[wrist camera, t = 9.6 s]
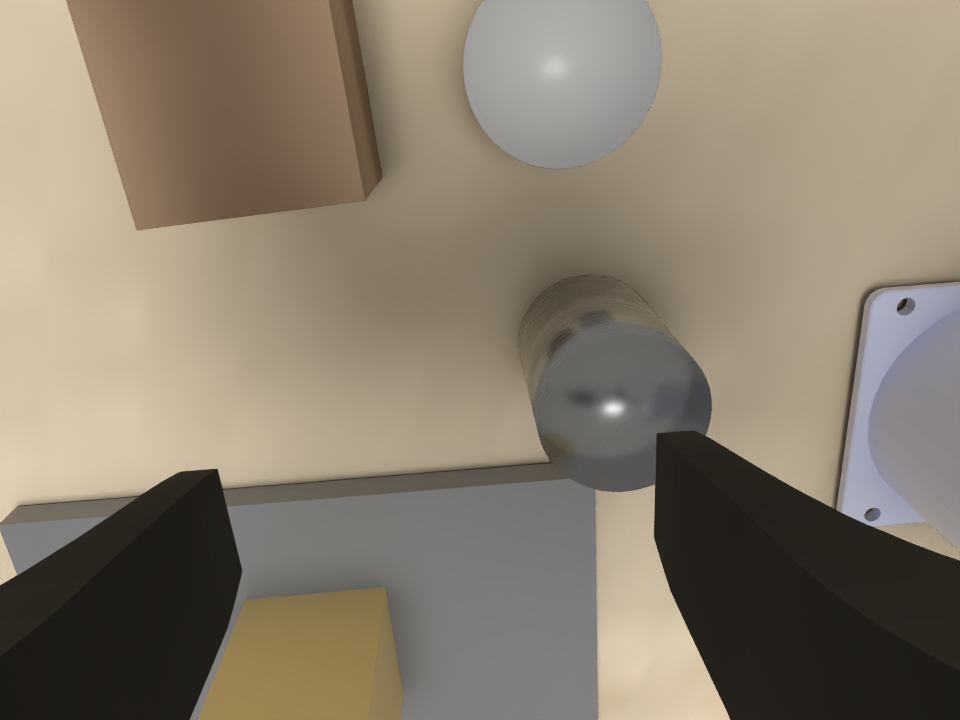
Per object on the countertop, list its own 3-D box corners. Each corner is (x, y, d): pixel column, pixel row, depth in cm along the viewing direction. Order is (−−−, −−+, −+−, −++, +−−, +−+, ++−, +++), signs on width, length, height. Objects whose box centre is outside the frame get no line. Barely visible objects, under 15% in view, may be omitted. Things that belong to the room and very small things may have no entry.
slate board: (588, 460, 22) (594, 476, 21) (593, 735, 27) (598, 760, 26) (17, 506, 22) (-2, 525, 21) (118, 775, 27) (106, 800, 26)
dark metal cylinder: (655, 269, 20) (715, 327, 15) (652, 396, 22) (707, 484, 17) (514, 280, 20) (533, 342, 15) (522, 407, 22) (541, 498, 17)
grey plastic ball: (628, -18, 17) (673, -44, 14) (613, 151, 19) (649, 170, 15) (465, -24, 17) (464, -50, 13) (462, 148, 19) (461, 167, 15)
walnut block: (346, -34, 17) (316, -65, 13) (382, 177, 19) (364, 200, 15) (143, -6, 17) (56, -29, 13) (199, 200, 19) (136, 230, 15)
